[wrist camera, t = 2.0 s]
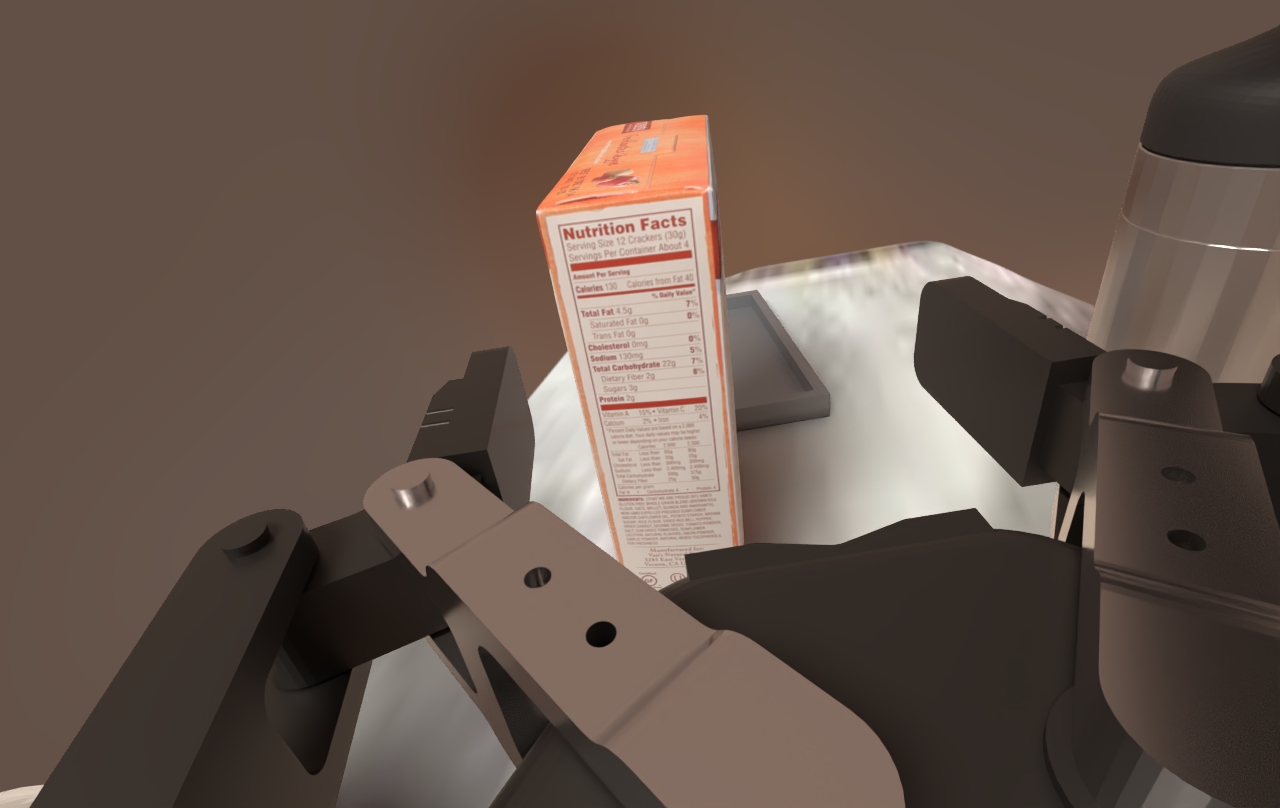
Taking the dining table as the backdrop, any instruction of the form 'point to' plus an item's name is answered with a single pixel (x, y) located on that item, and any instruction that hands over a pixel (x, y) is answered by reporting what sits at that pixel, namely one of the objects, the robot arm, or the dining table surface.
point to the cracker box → (650, 338)
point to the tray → (769, 368)
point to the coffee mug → (19, 797)
